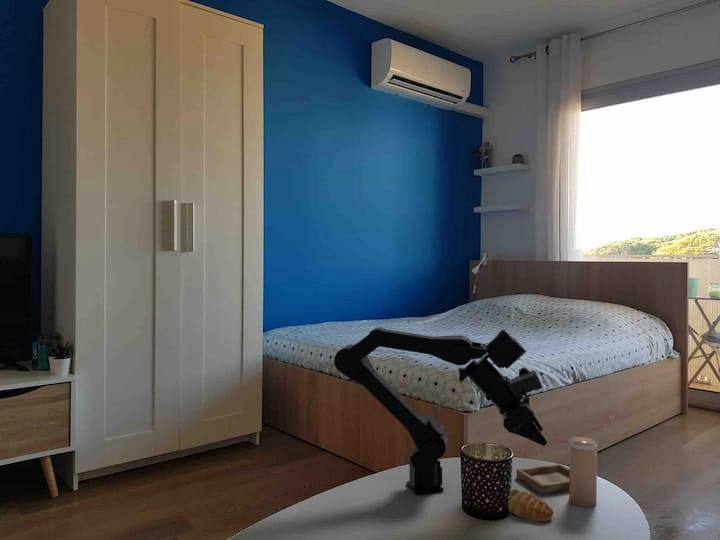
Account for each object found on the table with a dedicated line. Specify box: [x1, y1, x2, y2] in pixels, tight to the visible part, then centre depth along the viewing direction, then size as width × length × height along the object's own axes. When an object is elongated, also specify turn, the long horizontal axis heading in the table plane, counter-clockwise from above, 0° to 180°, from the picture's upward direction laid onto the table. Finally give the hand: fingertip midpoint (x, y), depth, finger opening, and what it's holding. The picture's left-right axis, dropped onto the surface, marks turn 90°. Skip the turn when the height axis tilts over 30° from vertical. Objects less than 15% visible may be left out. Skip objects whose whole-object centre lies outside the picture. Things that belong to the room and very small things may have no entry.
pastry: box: [508, 488, 554, 522], centre depth 114 cm, size 9×7×4 cm
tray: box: [516, 463, 569, 496], centre depth 129 cm, size 12×10×2 cm
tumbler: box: [568, 436, 598, 509], centre depth 119 cm, size 6×6×13 cm
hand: (543, 437), depth 121 cm, fingers open, 9 cm apart
